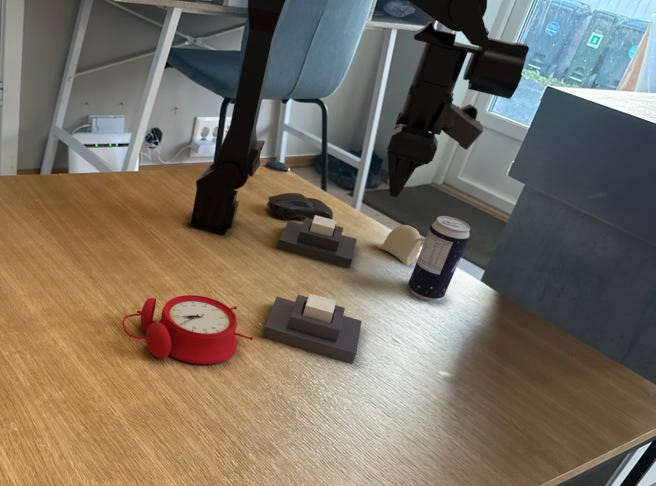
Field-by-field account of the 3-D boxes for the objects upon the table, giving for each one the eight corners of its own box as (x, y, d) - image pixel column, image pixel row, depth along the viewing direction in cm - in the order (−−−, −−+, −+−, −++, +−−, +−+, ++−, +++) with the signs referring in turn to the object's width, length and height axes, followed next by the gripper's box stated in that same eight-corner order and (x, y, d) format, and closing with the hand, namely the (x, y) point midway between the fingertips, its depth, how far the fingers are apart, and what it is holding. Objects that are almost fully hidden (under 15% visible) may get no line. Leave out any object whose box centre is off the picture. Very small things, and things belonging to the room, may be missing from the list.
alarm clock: (261, 341, 83) (145, 315, 78) (240, 382, 87) (126, 360, 81) (236, 296, 92) (129, 269, 86) (217, 335, 95) (112, 311, 89)
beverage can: (444, 306, 107) (475, 235, 100) (407, 298, 107) (436, 226, 101) (440, 290, 112) (470, 220, 105) (404, 281, 112) (432, 211, 105)
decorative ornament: (392, 245, 124) (402, 216, 121) (428, 267, 118) (440, 238, 115) (376, 247, 122) (386, 219, 119) (412, 270, 116) (423, 240, 113)
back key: (309, 232, 114) (312, 222, 113) (312, 224, 117) (315, 214, 116) (331, 238, 114) (334, 228, 113) (333, 230, 117) (336, 220, 116)
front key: (302, 316, 91) (305, 305, 90) (306, 304, 94) (309, 293, 93) (329, 324, 91) (333, 313, 90) (332, 311, 93) (336, 300, 92)
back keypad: (276, 249, 114) (282, 229, 113) (285, 229, 122) (290, 210, 120) (349, 269, 113) (355, 249, 111) (354, 247, 120) (360, 229, 118)
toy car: (333, 225, 127) (340, 205, 125) (270, 220, 124) (275, 199, 122) (323, 212, 131) (329, 192, 129) (262, 206, 129) (267, 186, 127)
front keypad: (261, 337, 91) (267, 314, 89) (273, 306, 99) (279, 284, 97) (352, 364, 89) (360, 341, 87) (358, 330, 97) (366, 309, 95)
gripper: (495, 110, 89) (447, 223, 98) (490, 83, 104) (449, 183, 113) (408, 87, 91) (369, 200, 100) (415, 64, 106) (381, 164, 115)
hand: (395, 187), depth 107 cm, fingers open, 9 cm apart
